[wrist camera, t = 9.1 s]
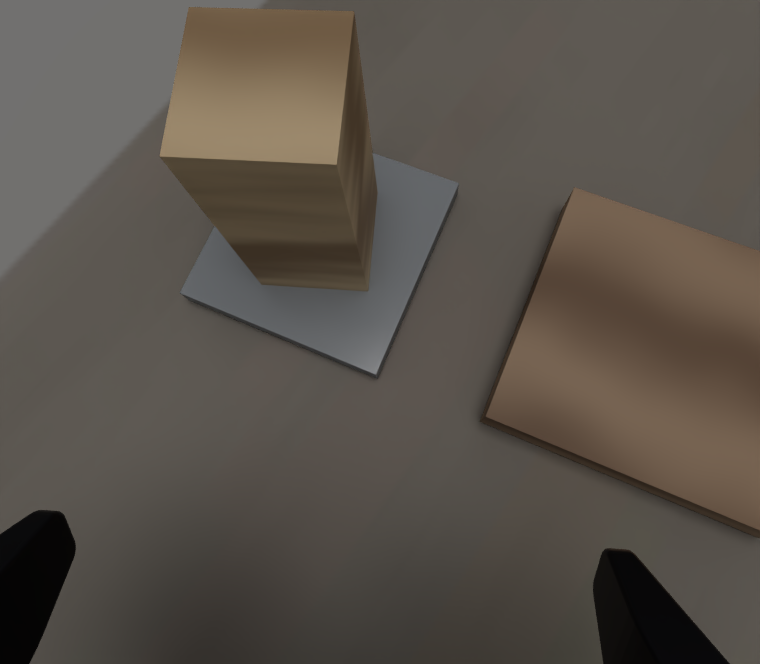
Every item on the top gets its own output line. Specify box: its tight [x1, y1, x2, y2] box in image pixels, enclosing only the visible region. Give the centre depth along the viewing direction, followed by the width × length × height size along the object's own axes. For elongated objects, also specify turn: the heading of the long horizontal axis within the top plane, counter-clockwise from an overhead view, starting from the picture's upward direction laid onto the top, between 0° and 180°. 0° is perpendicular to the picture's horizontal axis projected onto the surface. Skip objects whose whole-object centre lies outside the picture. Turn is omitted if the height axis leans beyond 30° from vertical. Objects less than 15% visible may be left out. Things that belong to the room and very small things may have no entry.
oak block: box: [160, 7, 378, 291], centre depth 20 cm, size 4×4×10 cm
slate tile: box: [180, 153, 459, 378], centre depth 25 cm, size 9×9×1 cm
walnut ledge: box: [480, 187, 760, 538], centre depth 23 cm, size 10×11×2 cm
